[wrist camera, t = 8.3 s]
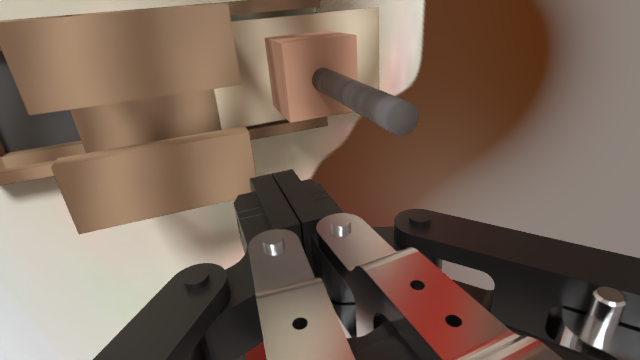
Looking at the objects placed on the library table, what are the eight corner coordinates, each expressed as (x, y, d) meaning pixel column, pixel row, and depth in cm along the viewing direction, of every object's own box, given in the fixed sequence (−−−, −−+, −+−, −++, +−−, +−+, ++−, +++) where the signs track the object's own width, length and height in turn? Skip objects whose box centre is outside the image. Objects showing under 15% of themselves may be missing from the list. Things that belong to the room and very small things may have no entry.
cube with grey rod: (220, 127, 36) (263, 230, 20) (200, 24, 32) (232, 45, 16) (374, 101, 40) (515, 167, 24) (373, 7, 36) (541, 10, 20)
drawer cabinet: (-10, 177, 33) (-113, 276, 21) (-85, 27, 28) (-281, 46, 16) (319, 119, 41) (381, 167, 29) (310, -5, 36) (380, -10, 24)
